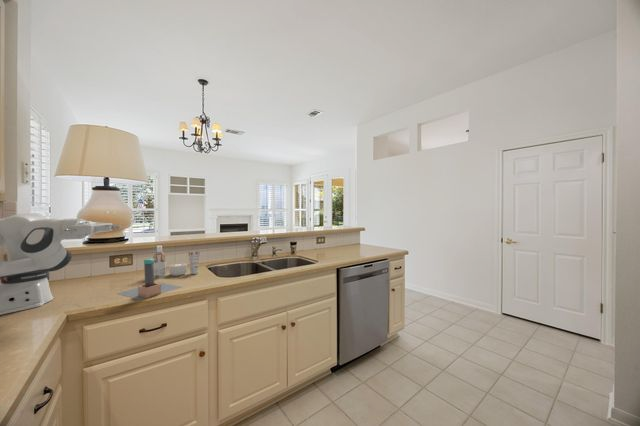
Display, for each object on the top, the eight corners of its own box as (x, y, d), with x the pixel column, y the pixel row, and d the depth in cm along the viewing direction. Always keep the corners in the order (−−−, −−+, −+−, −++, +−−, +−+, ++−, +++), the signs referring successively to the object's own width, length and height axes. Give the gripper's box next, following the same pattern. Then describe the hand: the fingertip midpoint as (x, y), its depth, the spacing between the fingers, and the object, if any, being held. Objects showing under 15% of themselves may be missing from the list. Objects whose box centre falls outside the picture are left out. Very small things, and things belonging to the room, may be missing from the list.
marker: (148, 295, 115) (147, 260, 114) (143, 294, 116) (142, 260, 116) (156, 292, 118) (155, 259, 117) (151, 291, 120) (150, 258, 119)
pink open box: (146, 297, 113) (146, 288, 113) (138, 295, 116) (137, 286, 116) (161, 293, 119) (161, 284, 119) (152, 291, 122) (152, 282, 121)
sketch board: (140, 301, 110) (140, 300, 110) (116, 295, 118) (116, 293, 118) (182, 288, 128) (182, 286, 128) (159, 283, 137) (159, 282, 136)
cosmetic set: (200, 271, 162) (200, 242, 162) (200, 275, 154) (199, 244, 153) (154, 276, 152) (154, 245, 151) (152, 280, 143) (151, 247, 143)
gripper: (60, 222, 97) (104, 221, 101) (89, 220, 116) (125, 220, 121) (60, 238, 97) (104, 237, 101) (89, 234, 116) (125, 233, 121)
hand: (115, 227), depth 111 cm, fingers open, 8 cm apart
